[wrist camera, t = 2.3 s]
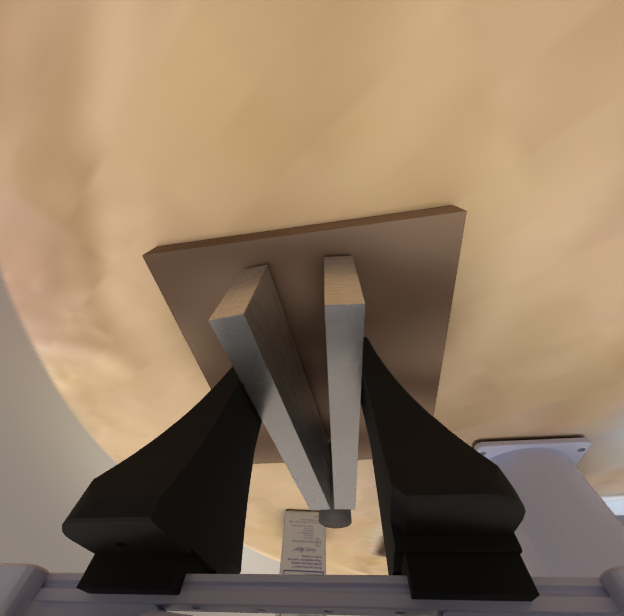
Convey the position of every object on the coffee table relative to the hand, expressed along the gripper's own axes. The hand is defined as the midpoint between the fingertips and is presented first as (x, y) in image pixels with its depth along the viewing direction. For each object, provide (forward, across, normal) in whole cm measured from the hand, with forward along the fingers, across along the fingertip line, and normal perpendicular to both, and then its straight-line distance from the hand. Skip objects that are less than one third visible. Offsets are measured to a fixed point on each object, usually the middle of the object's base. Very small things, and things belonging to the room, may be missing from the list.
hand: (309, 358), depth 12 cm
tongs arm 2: (+2, -1, +3) cm, 3 cm away
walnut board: (+3, 0, +4) cm, 5 cm away
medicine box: (+3, +5, +29) cm, 29 cm away
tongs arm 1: (+2, +1, +3) cm, 3 cm away
